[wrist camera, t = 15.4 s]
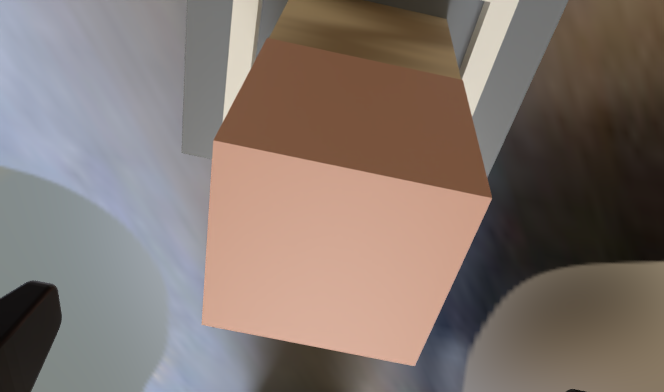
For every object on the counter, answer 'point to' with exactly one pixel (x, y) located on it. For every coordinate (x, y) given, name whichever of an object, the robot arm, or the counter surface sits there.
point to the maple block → (370, 33)
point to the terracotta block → (341, 202)
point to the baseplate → (450, 3)
